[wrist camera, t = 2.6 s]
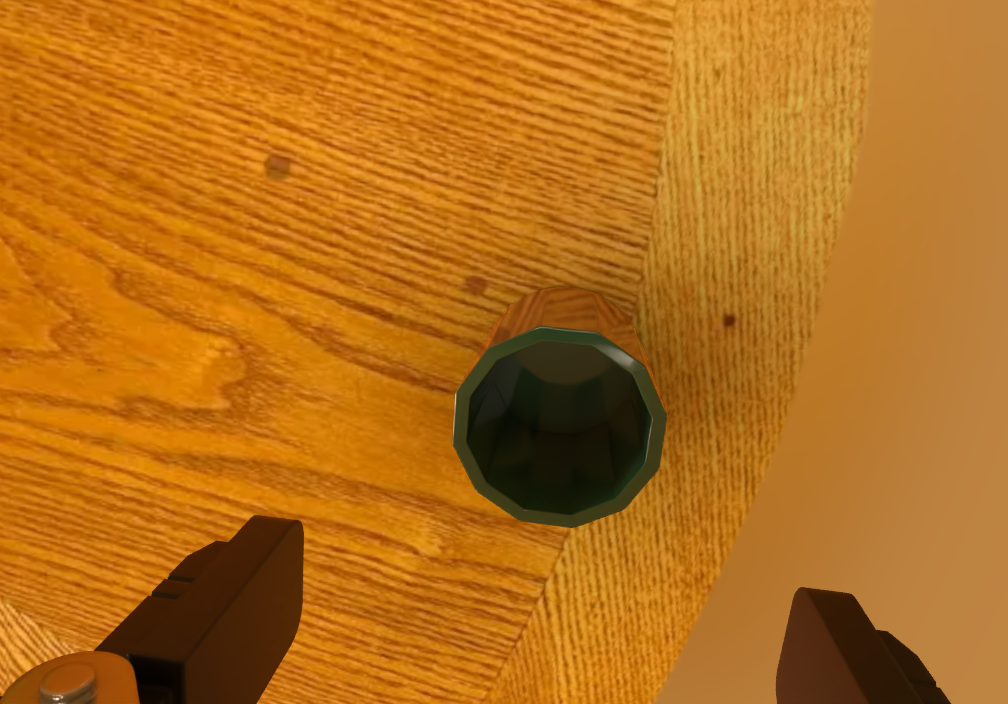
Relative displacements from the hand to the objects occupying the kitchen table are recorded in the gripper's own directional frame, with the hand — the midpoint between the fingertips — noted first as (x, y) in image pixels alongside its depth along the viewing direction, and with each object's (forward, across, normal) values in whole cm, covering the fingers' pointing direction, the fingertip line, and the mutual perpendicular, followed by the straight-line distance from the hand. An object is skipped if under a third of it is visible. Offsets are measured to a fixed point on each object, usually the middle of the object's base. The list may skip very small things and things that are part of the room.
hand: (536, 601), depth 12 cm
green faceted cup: (+14, 0, 0) cm, 14 cm away
